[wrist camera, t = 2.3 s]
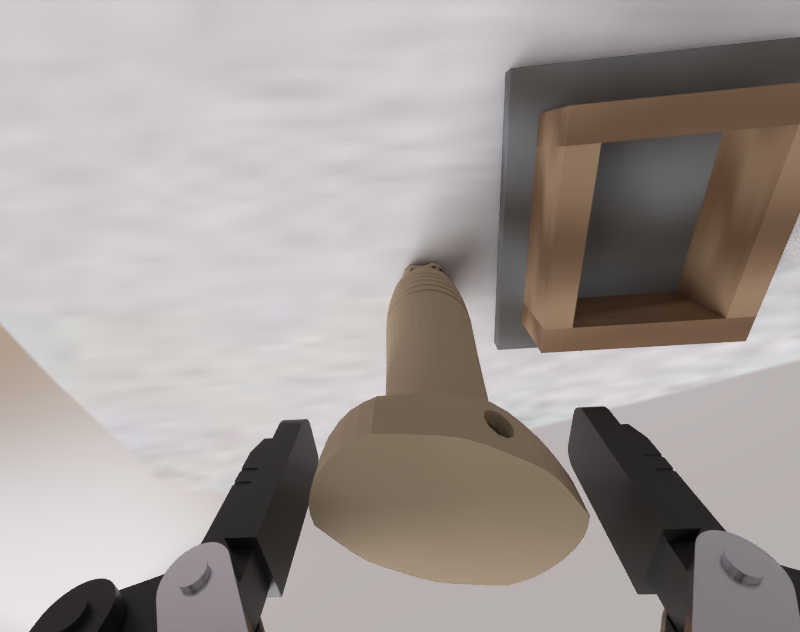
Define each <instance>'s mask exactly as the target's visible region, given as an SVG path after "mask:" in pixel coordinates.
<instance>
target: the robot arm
mask: <svg viewBox="0 0 800 632" xmlns="http://www.w3.org/2000/svg"><path fill="white" fill-rule="evenodd" d="M568 453H569V459H570V463H571V465H572V468H573V470H574V472H575V474H576V476H577V478H578V480H579V482H580V483H581V485H582V487H583V489H584V491H585V493H586V495H587V497H588V499H589V501H590V503H591V505H592V507H593V508H594V510H595V512H596V514H597V516H598V518H599V520H600V522H601V524H602V526H603V528H604V530H605V532H606V534H607V536H608V537H609V539H610V541H611V543H612V545H613V547H614V549H615V551H616V553H617V555H618V557H619V559H620V561H621V562H622V564H623V566H624V568H625V570H626V572H627V574H628V576H629V578H630V580H631V582H632V584H633V586H634V588H635V590H636V592H637V593H638V594H657V595H658V597H659V599H660V600H661V602H662V604H663V606H664V610H663V614H662V621H661V631H660V632H800V570H796V569H792V568H788V567H785V566H782V565H779V563H778V562H776V560H775V559H774V558H772V557H771V556H770V555H769V554H768V553H766V552H765V551H764V550H763V549H761V548H760V547H758V546H757V545H755V544H753V543H752V542H750V541H748V540H746V539H744V538H742V537H740V536H738V535H735V534H732V533H729V532H727V531H726V530H725V529H724V528H723V527H722V526H721V525H720V524H719V522H718V521H717V520H716V519H715V518H714V517H713V515H712V514H711V513H710V512H709V511H708V509H707V508H706V507H705V506H704V505H703V503H702V502H701V501H700V500H699V499H698V497H697V496H696V495H695V494H694V493H693V491H692V490H691V489H690V488H689V487H688V485H687V484H686V483H685V482H684V481H683V480H682V478H681V477H680V476H679V475H678V474H677V472H676V471H673V468H672V466H671V465H670V464H669V463H668V462H667V460H666V459H665V458H664V457H662V456H661V453H660V452H659V451H658V450H657V449H656V447H655V446H654V445H653V444H652V443H651V442H650V440H649V439H648V438H647V437H645V436H644V435H643V434H642V433H640V432H639V431H637V430H636V429H634V428H633V427H632V426H630V425H629V424H622V425H621V424H620V423H619V422H618V421H617V419H616V418H615V417H614V416H613V414H612V413H611V412H610V411H609V409H607V408H606V407H581V408H576V409H575V411H574V415H573V421H572V426H571V433H570V438H569V445H568ZM317 466H318V453H317V450H316V446H315V442H314V438H313V434H312V430H311V426H310V423H309V421H308V420H307V419H301V420H283V421H281V423H280V424H279V426H278V428H277V430H276V432H275V434H274V436H273V438H270V439H264V440H263V441H262V442H261V443H260V444H259V445H258V446H257V447H255V448H254V449H253V450H252V451H251V452H250V454H249V456H248V458H247V460H246V462H245V464H244V465H243V467H242V471H241V472H240V473H239V475H238V477H237V478H236V480H235V484H234V485H233V486H232V488H231V490H230V491H229V493H228V495H227V497H226V499H225V501H224V503H223V504H222V506H221V508H220V510H219V512H218V514H217V516H216V517H215V519H214V521H213V523H212V525H211V527H210V529H209V530H208V532H207V534H206V536H205V538H204V540H203V541H202V543H201V544H200V545H198V546H195V547H193V548H191V549H190V550H188V551H187V552H185V553H184V554H183V555H181V556H180V557H179V558H178V559H177V560H176V561H175V562H174V563H173V564H172V565H171V566H170V567H169V569H168V570H167V572H166V573H165V574H163V575H161V576H158V577H155V578H153V579H150V580H147V581H144V582H142V583H138V584H136V585H133V586H130V587H127V588H124V589H122V590H118V589H117V588H116V587H115V585H114V584H113V583H112V582H111V581H110V580H107V579H95V580H91V581H88V582H85V583H83V584H81V585H79V586H77V587H75V588H74V589H72V590H70V591H69V592H67V593H66V594H65V595H63V596H62V597H61V598H59V600H57V601H56V602H55V603H54V604H53V605H51V606H50V607H49V608H48V609H47V611H46V612H45V613H44V614H43V615H42V616H41V617H40V619H39V620H38V621H37V622H36V623H35V625H34V626H33V628H32V629H31V630H30V631H29V632H265V631H264V627H263V623H262V621H261V617H260V616H261V613H262V610H263V607H264V603H265V600H266V597H282V594H283V591H284V587H285V584H286V581H287V577H288V573H289V570H290V567H291V563H292V560H293V557H294V553H295V550H296V546H297V542H298V539H299V536H300V532H301V529H302V525H303V522H304V519H305V515H306V512H307V508H308V505H309V504H308V503H309V496H310V490H311V486H312V483H313V479H314V476H315V472H316V469H317Z"/></svg>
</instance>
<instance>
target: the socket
mask: <svg viewBox="0 0 800 632" xmlns="http://www.w3.org/2000/svg"><path fill="white" fill-rule="evenodd" d="M799 213H800V37H797V38H787V39H778V40H769V41H760V42H750V43H741V44H732V45H723V46H713V47H704V48H695V49H686V50H677V51H667V52H658V53H649V54H640V55H630V56H621V57H612V58H603V59H594V60H584V61H575V62H566V63H557V64H547V65H538V66H529V67H520V68H511V69H510V70H509V71H507V72H506V78H505V101H504V125H503V149H502V172H501V196H500V220H499V243H498V267H497V291H496V314H495V338H494V342H495V344H496V347H497V349H498V350H502V349H519V348H536V347H538V348H539V350H540V351H541V353H548V352H565V351H583V350H600V349H617V348H634V347H651V346H669V345H686V344H703V343H720V342H737V341H746V339H747V337H748V335H749V332H750V330H751V327H752V325H753V323H754V320H755V318H756V315H757V313H758V311H759V308H760V306H761V304H762V301H763V299H764V296H765V294H766V292H767V289H768V287H769V285H770V282H771V280H772V277H773V275H774V273H775V270H776V268H777V266H778V263H779V261H780V258H781V256H782V254H783V251H784V249H785V247H786V244H787V242H788V239H789V237H790V235H791V232H792V230H793V228H794V225H795V223H796V220H797V218H798V216H799Z"/></svg>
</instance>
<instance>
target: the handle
mask: <svg viewBox="0 0 800 632" xmlns="http://www.w3.org/2000/svg"><path fill="white" fill-rule="evenodd" d="M386 352H387V376H386V396H377V397H375V398H372V399H370V400H368V401H366V402H363V403H362V404H360V405H358V406H357V407H355V408H354V409H352V410H350V411H349V412H348V413H347V414H346V415H345V416H344V417H343V418H342V419H341V420H340V421H339V423H338V424H337V426H336V427H335V428H334V430H333V431H332V433H331V434H330V436H329V437H328V440H327V442H326V444H325V447H324V449H323V452H322V454H321V457H320V459H319V463H318V466H317V469H316V472H315V476H314V479H313V483H312V486H311V490H310V496H309V503H308V504H309V510H310V515H311V517H312V520H313V523H314V525H315V526H316V527H318V528H319V529H321V530H322V531H323V532H325V533H326V534H327V535H329V536H330V537H332V538H333V539H334V540H336V541H337V542H338V543H340V544H341V545H343V546H344V547H346V548H347V549H349V550H350V551H351V552H353V553H355V554H356V555H358V556H360V557H362V558H364V559H365V560H367V561H370V562H372V563H375V564H377V565H380V566H382V567H385V568H389V569H392V570H396V571H399V572H402V573H405V574H408V575H412V576H415V577H419V578H422V579H427V580H431V581H435V582H443V583H453V584H472V585H506V586H507V585H511V584H515V583H518V582H522V581H525V580H527V579H530V578H533V577H535V576H537V575H539V574H541V573H543V572H545V571H547V570H549V569H550V568H552V567H553V566H555V565H556V564H558V563H559V562H560V561H562V560H563V559H564V558H565V557H567V555H569V554H570V553H571V552H572V551H573V550H574V549H575V548H576V547H577V545H578V544H579V543H580V542H581V540H582V539H583V537H584V535H585V533H586V530H587V527H588V523H589V518H590V515H589V513H588V511H587V509H586V508H585V505H584V503H583V501H582V499H581V497H580V495H579V493H578V491H577V489H576V487H575V485H574V483H573V481H572V480H571V478H570V477H569V475H568V474H567V472H566V471H565V469H564V468H563V467H562V466H561V464H560V463H559V461H558V460H557V459H556V458H555V456H554V455H553V454H552V453H551V451H550V450H549V449H548V448H547V447H546V446H545V445H544V444H543V442H542V441H541V440H540V439H539V438H538V437H537V436H535V435H534V434H533V433H532V432H531V431H530V430H529V429H528V428H527V427H526V426H525V425H524V424H522V423H521V422H520V421H519V420H517V419H516V418H515V417H513V416H512V415H511V414H510V413H508V412H507V411H505V410H503V409H502V408H500V407H498V406H496V405H495V404H493V403H491V402H488V397H487V393H486V389H485V385H484V380H483V376H482V372H481V368H480V363H479V359H478V354H477V350H476V345H475V340H474V335H473V330H472V326H471V321H470V318H469V314H468V312H467V309H466V306H465V304H464V301H463V299H462V297H461V295H460V293H459V292H458V290H457V288H456V286H455V285H454V284H453V282H452V281H451V280H450V279H449V278H448V277H447V276H446V275H445V274H444V270H443V269H442V267H441V266H439V265H438V264H436V263H434V262H431V263H429V264H427V265H413V264H411V265H409V266H408V267H407V268H406V269H405V272H404V276H403V278H402V279H401V280H400V281H399V283H398V284H397V286H396V288H395V290H394V293H393V295H392V298H391V302H390V305H389V310H388V317H387V327H386Z"/></svg>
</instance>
